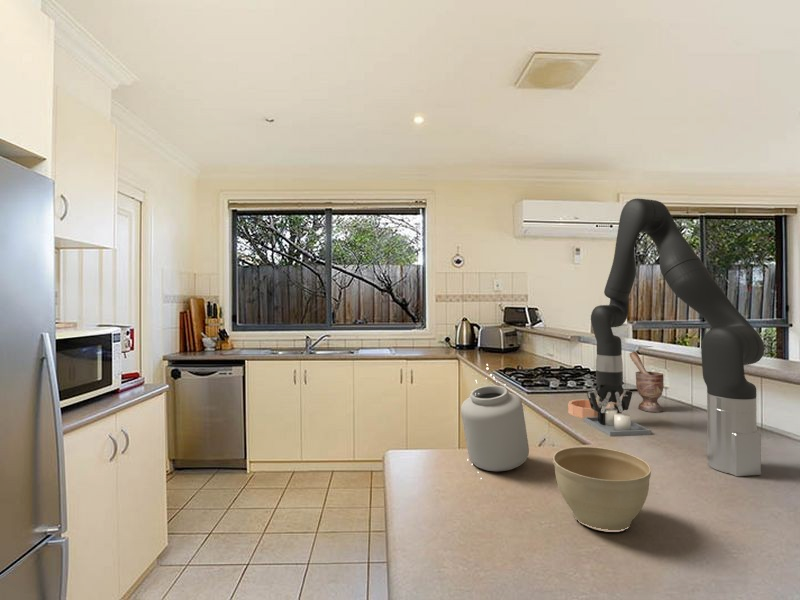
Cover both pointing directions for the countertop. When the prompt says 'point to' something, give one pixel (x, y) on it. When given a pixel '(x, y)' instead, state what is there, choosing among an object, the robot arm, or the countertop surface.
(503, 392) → the jar
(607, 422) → the cream rounded lump
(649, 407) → the mortar and pestle
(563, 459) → the planter bowl
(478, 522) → the countertop surface
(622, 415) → the cream rounded piece
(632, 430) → the tray
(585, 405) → the bowl
